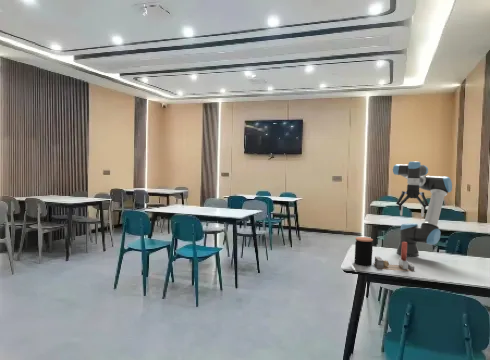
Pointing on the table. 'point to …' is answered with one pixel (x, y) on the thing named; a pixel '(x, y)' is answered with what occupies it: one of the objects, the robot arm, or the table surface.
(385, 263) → the nut
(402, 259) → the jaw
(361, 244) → the coffee jar
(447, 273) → the table surface
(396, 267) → the board
